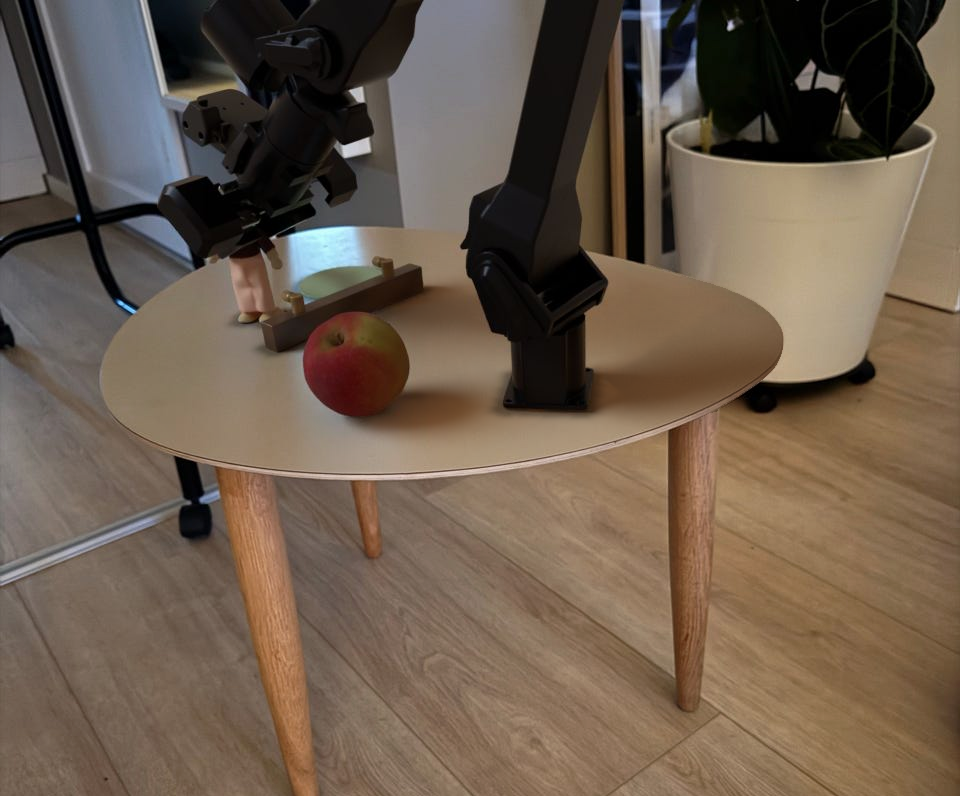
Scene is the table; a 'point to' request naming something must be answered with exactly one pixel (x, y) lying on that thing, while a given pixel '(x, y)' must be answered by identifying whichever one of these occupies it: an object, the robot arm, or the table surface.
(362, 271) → the hook rail
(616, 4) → the robot arm
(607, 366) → the table surface
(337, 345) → the apple
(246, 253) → the grandmother figurine
